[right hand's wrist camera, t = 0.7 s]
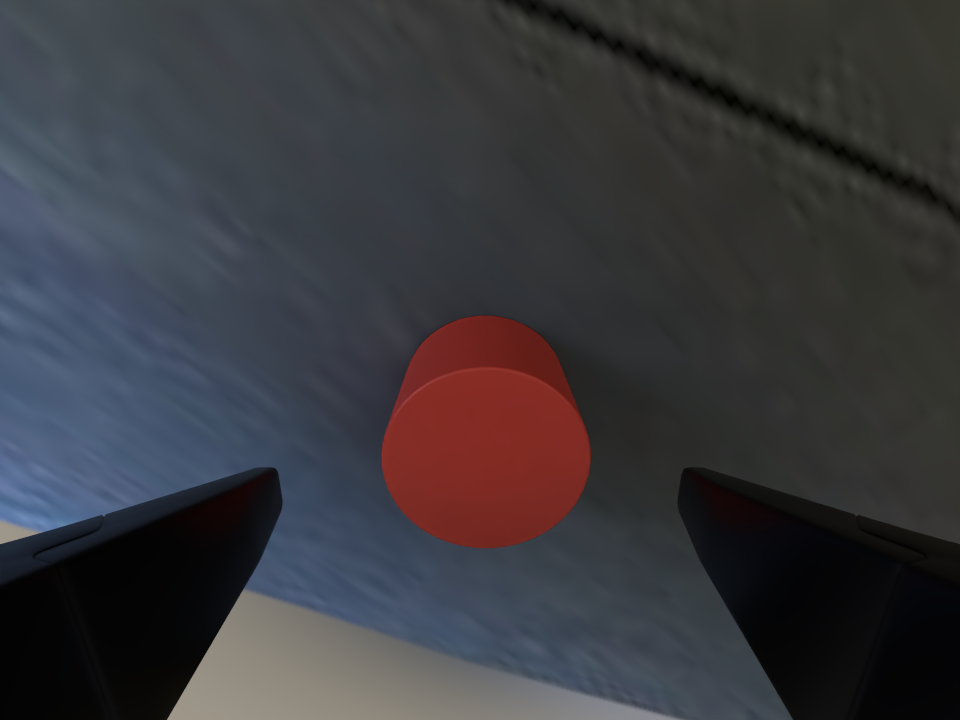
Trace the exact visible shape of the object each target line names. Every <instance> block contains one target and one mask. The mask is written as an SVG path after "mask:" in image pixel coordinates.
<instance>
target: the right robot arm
mask: <svg viewBox="0 0 960 720" xmlns="http://www.w3.org/2000/svg"><path fill="white" fill-rule="evenodd" d="M281 509H282V494H281V488H280V481H279V475H278V472H277V470H276V469H275V468H272V467H267V468H255V469H251V470H248V471H245V472H242V473H238V474H235V475H232V476H229V477H225V478H222V479H219V480H216V481H212V482H209V483H206V484H203V485H200V486H196V487H193V488H190V489H187V490H183V491H180V492H177V493H174V494H170V495H167V496H164V497H161V498H157V499H154V500H151V501H148V502H144V503H141V504H138V505H135V506H131V507H128V508H125V509H122V510H118V511H115V512H112V513H109V514H106V515H105V516H102V515H100V516H97V517H93V518H90V519H87V520H84V521H80V522H77V523H73V524H70V525H67V526H63V527H60V528H57V529H53V530H50V531H46V532H43V533H39V534H36V535H32V536H29V537H25V538H22V539H18V540H14V541H11V542H7V543H3V544H0V720H167V718H168V717H169V715H170V713H171V712H172V710H173V708H174V707H175V705H176V703H177V702H178V700H179V698H180V696H181V695H182V693H183V691H184V689H185V688H186V686H187V684H188V683H189V681H190V679H191V678H192V676H193V674H194V673H195V671H196V669H197V667H198V666H199V664H200V662H201V661H202V659H203V657H204V655H205V654H206V652H207V650H208V649H209V647H210V645H211V644H212V642H213V640H214V638H215V637H216V635H217V633H218V632H219V630H220V628H221V626H222V625H223V623H224V621H225V620H226V618H227V616H228V615H229V613H230V611H231V609H232V608H233V606H234V604H235V603H236V601H237V599H238V597H239V596H240V594H241V592H242V591H243V589H244V587H245V585H246V584H247V582H248V580H249V579H250V577H251V575H252V574H253V572H254V570H255V568H256V566H257V565H258V563H259V561H260V559H261V557H262V555H263V552H264V550H265V548H266V545H267V543H268V541H269V538H270V536H271V534H272V531H273V529H274V527H275V524H276V522H277V520H278V517H279V515H280V513H281ZM678 509H679V513H680V515H681V517H682V520H683V522H684V524H685V527H686V529H687V531H688V534H689V536H690V538H691V541H692V543H693V545H694V548H695V550H696V552H697V555H698V557H699V559H700V561H701V563H702V565H703V566H704V568H705V570H706V572H707V574H708V575H709V577H710V579H711V580H712V582H713V584H714V585H715V587H716V589H717V591H718V592H719V594H720V596H721V597H722V599H723V601H724V603H725V604H726V606H727V608H728V609H729V611H730V613H731V615H732V616H733V618H734V620H735V621H736V623H737V625H738V626H739V628H740V630H741V632H742V633H743V635H744V637H745V638H746V640H747V642H748V644H749V645H750V647H751V649H752V650H753V652H754V654H755V655H756V657H757V659H758V661H759V662H760V664H761V666H762V667H763V669H764V671H765V673H766V674H767V676H768V678H769V679H770V681H771V683H772V684H773V686H774V688H775V690H776V691H777V693H778V695H779V696H780V698H781V700H782V702H783V703H784V705H785V707H786V708H787V710H788V712H789V713H790V715H791V717H792V719H793V720H960V544H957V543H953V542H949V541H946V540H942V539H939V538H935V537H931V536H928V535H924V534H921V533H917V532H914V531H910V530H907V529H903V528H900V527H897V526H893V525H890V524H887V523H883V522H880V521H876V520H873V519H870V518H867V517H863V516H860V515H858V516H855V515H854V514H851V513H848V512H845V511H842V510H838V509H835V508H832V507H829V506H825V505H822V504H819V503H816V502H812V501H809V500H806V499H803V498H799V497H796V496H793V495H790V494H786V493H783V492H780V491H777V490H773V489H770V488H767V487H764V486H760V485H757V484H754V483H751V482H748V481H744V480H741V479H738V478H735V477H731V476H728V475H725V474H722V473H718V472H715V471H712V470H709V469H705V468H693V467H688V468H685V469H684V470H683V472H682V475H681V481H680V488H679V494H678Z"/></svg>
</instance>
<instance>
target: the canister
mask: <svg viewBox="0 0 960 720" xmlns="http://www.w3.org/2000/svg"><path fill="white" fill-rule="evenodd" d="M381 457H382V469H383V474H384V478H385V482H386V484H387V487H388V489H389V492H390V494H391V496H392V497H393V499H394V501H395V503H396V504H397V505H398V507H399V508H400V509H401V511H402V512H403V513H404V514H405V515H406V516H407V517H408V518H409V519H410V520H411V521H412V522H413V523H415V524H416V525H417V526H418V527H420V528H421V529H423V530H424V531H426V532H427V533H429V534H431V535H433V536H435V537H437V538H439V539H441V540H444V541H447V542H450V543H453V544H457V545H461V546H466V547H475V548H497V547H505V546H510V545H515V544H519V543H522V542H525V541H528V540H530V539H532V538H535V537H537V536H539V535H541V534H543V533H544V532H546V531H548V530H549V529H551V528H552V527H553V526H555V525H556V524H557V523H559V522H560V521H561V520H562V519H563V518H564V517H565V516H566V515H567V514H568V513H569V512H570V510H571V509H572V508H573V507H574V505H575V504H576V503H577V501H578V499H579V497H580V496H581V494H582V492H583V489H584V487H585V485H586V482H587V479H588V475H589V471H590V462H591V451H590V443H589V438H588V433H587V431H586V428H585V426H584V423H583V420H582V418H581V415H580V413H579V410H578V408H577V405H576V403H575V400H574V398H573V395H572V393H571V390H570V387H569V385H568V382H567V380H566V377H565V375H564V372H563V370H562V367H561V365H560V362H559V360H558V358H557V356H556V354H555V353H554V351H553V350H552V348H551V347H550V346H549V344H548V343H547V342H546V341H545V340H544V339H543V338H542V337H541V336H540V335H539V334H537V333H536V332H535V331H533V330H532V329H530V328H529V327H527V326H525V325H523V324H521V323H519V322H516V321H514V320H511V319H507V318H503V317H497V316H473V317H467V318H463V319H459V320H456V321H454V322H451V323H449V324H447V325H445V326H443V327H441V328H439V329H438V330H437V331H435V332H434V333H433V334H431V335H430V336H429V337H428V338H427V339H426V340H425V341H424V342H423V343H422V344H421V345H420V347H419V348H418V349H417V350H416V352H415V354H414V356H413V357H412V359H411V361H410V364H409V366H408V369H407V372H406V375H405V378H404V381H403V383H402V386H401V389H400V392H399V395H398V398H397V401H396V403H395V406H394V409H393V412H392V415H391V418H390V421H389V424H388V426H387V429H386V432H385V436H384V440H383V444H382V456H381Z"/></svg>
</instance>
